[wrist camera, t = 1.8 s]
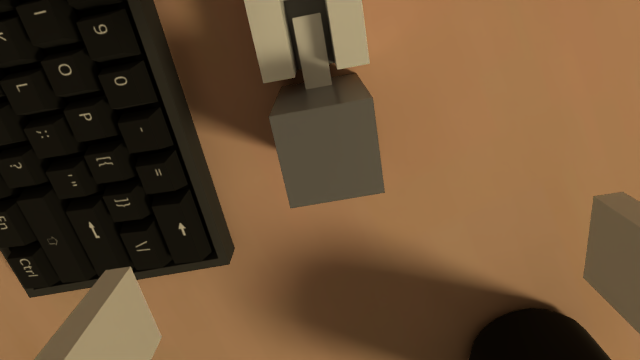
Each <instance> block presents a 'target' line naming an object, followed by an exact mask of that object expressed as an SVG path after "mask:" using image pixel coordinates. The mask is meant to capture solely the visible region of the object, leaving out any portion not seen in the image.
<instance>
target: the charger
mask: <svg viewBox="0 0 640 360" xmlns="http://www.w3.org/2000/svg"><path fill="white" fill-rule="evenodd" d="M292 20H293V26H294V31H295V36H296V41H297V46H298V51H299V57H300V62H301V67H302V72H303V77H304V83H299V84H293V85H288V86H283V87H281V89H280V91H279V94H278V96H277V98H276V101H275V103H274V105H273V108H272V110H271V113H270V115H269V120H270V124H271V128H272V133H273V137H274V141H275V145H276V150H277V154H278V158H279V162H280V166H281V171H282V175H283V179H284V183H285V187H286V192H287V196H288V200H289V204H290V208H296V207H302V206H308V205H314V204H320V203H326V202H332V201H338V200H344V199H350V198H356V197H361V196H367V195H373V194H379V193H385V191H384V183H383V175H382V167H381V159H380V151H379V143H378V135H377V127H376V119H375V111H374V103H373V97H372V96H371V94H370V93H369V91H368V90H367V88H366V87H365V85H364V84H363V83H362V81H361V80H360V78H359V77H358V75H357V74H356V73H352V74H347V75H342V76H336V77H331V74H330V68H329V62H328V56H327V50H326V44H325V38H324V32H323V26H322V20H321V14H320V13H316V14H311V15H306V16H301V17H296V18H292Z"/></svg>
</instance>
